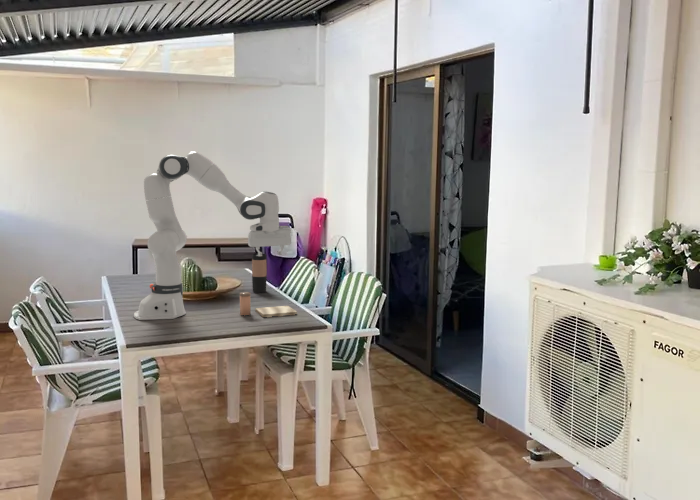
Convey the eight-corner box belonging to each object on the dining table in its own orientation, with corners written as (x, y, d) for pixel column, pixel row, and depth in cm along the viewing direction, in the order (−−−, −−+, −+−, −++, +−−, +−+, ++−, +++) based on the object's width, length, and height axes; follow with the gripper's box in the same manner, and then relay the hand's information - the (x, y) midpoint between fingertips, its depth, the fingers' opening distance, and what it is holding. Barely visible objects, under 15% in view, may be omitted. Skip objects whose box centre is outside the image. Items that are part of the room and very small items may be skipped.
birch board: (263, 317, 293) (263, 314, 293) (255, 311, 305) (255, 308, 304) (296, 314, 299) (296, 311, 299) (288, 308, 311) (288, 305, 311)
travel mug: (249, 292, 347) (249, 254, 344) (257, 289, 354) (257, 253, 351) (261, 293, 344) (261, 256, 341) (269, 291, 350) (269, 254, 347)
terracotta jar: (241, 316, 295) (241, 294, 293) (238, 313, 299) (238, 292, 298) (252, 315, 297) (251, 293, 295) (249, 312, 301) (249, 291, 300)
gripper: (288, 224, 311) (288, 253, 313) (246, 226, 303) (247, 255, 305) (292, 226, 306) (293, 255, 308) (250, 227, 298) (250, 257, 300)
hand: (269, 255), depth 306 cm, fingers open, 8 cm apart
